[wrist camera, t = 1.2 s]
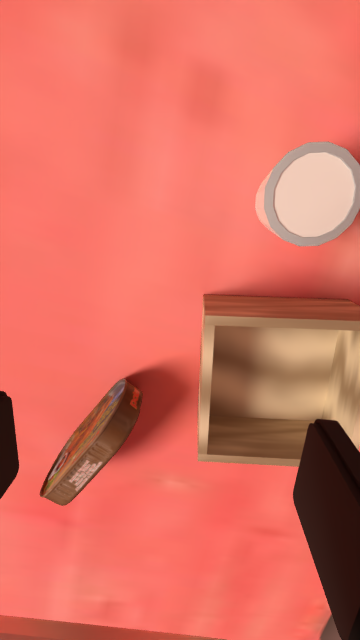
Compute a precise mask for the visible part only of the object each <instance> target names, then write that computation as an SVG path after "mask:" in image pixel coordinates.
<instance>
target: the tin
mask: <svg viewBox="0 0 360 640" xmlns="http://www.w3.org/2000/svg"><path fill="white" fill-rule="evenodd" d="M142 395H143V393H142V392H141V391H140V390H139V389H138V388H136V387H135V386H133V385H132V384H130V383H129V382H127V380H126V379H121V380H119V381H118V382H117V383H116V384H115V385H114V386H113V387H112V388H111V389H110V390H109V391H108V393H107V394H106V395H105V396H104V397H103V399H102V400H101V401H100V402H99V403H98V404H97V406H96V407H95V408H94V409H93V410H92V412H91V413H90V414H89V415H88V416H87V418H86V419H85V420H84V421H83V422H82V423H81V425H80V426H79V427H78V428H77V429H76V431H75V432H74V433H73V434H72V436H71V437H70V439H69V440H68V441H67V443H66V444H65V446H64V447H63V449H62V450H61V452H60V453H59V455H58V457H57V458H56V460H55V462H54V464H53V465H52V467H51V469H50V471H49V473H48V475H47V477H46V479H45V481H44V483H43V485H42V488H41V491H40V496H41V497H45V498H47V499H49V500H51V501H52V502H54V503H56V504H59V505H62V506H63V505H67V504H68V503H70V502H71V501H72V500H73V499H74V498H75V497H76V496H77V495H78V494H79V493H80V492H81V491H82V490H83V489H84V488H85V486H86V485H87V484H88V483H89V482H90V481H91V480H92V479H93V478H94V477H95V476H96V475H97V473H98V472H99V471H100V470H101V469H102V468H103V467H104V466H105V465H106V464H107V462H108V461H109V460H110V459H111V458H112V457H113V456H114V455H115V454H116V452H117V451H118V450H119V449H120V447H121V446H122V445H123V443H124V442H125V440H126V439H127V437H128V436H129V434H130V432H131V431H132V429H133V427H134V425H135V423H136V421H137V418H138V416H139V412H140V406H141V402H142Z"/></svg>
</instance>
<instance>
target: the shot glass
mask: <svg viewBox="0 0 360 640" xmlns="http://www.w3.org/2000/svg"><path fill="white" fill-rule="evenodd" d="M255 209H256V212H257V215H258V217H259V220H260V221H261V222H262V223H263V224H264V226H265V227H266V228H267V229H269V230H270V231H271V232H273V233H274V234H276V235H277V236H278V237H280V238H281V239H283V240H285V241H288V242H290V243H293V244H295V245H298V246H319V245H321V244H323V243H326V242H328V241H330V240H333V239H335V238H337V237H338V236H339V235H340V234H341V233H342V232H343V231H344V230H346V229H347V228H348V227H349V226H350V225H351V224H352V222H353V221H354V219H355V217H356V215H357V213H358V211H359V209H360V165H359V163H358V162H357V161H356V160H355V159H354V157H353V156H352V155H351V154H350V153H349V151H348V150H347V149H345V148H342V147H340V146H338V145H335V144H333V143H331V142H310V143H306V144H304V145H302V146H300V147H298V148H296V149H294V150H292V151H290V152H288V153H287V154H286V155H285V156H284V157H283V158H282V159H281V161H280V162H279V163H278V164H277V165H276V166H275V167H274V168H273V169H272V170H271V172H270V173H269V174H268V176H267V177H266V178H265V179H264V181H263V182H262V183H261V185H260V187H259V190H258V192H257V194H256V205H255Z"/></svg>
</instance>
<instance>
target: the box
mask: <svg viewBox="0 0 360 640" xmlns="http://www.w3.org/2000/svg"><path fill="white" fill-rule="evenodd" d="M316 419H326V420H336V421H338V422H339V423H340V425H341V426H342V428H343V429H344V431H345V432H346V434H347V435H348V436H349V438H350V439H351V441H352V442H353V444H354V445H355V446H356V448H357V449H358V450H359V445H360V306H359V305H357V304H355V303H353V302H352V301H350V300H346V299H316V298H287V297H258V296H228V295H203V312H202V333H201V354H200V375H199V396H198V461H206V462H224V463H242V464H260V465H279V466H297V467H299V464H300V460H301V456H302V451H303V447H304V443H305V438H306V434H307V429H308V426H309V424H310V423H314V422H315V420H316Z"/></svg>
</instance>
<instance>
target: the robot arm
mask: <svg viewBox="0 0 360 640" xmlns="http://www.w3.org/2000/svg"><path fill="white" fill-rule="evenodd" d="M18 470H19V460H18V451H17V443H16V434H15V425H14V416H13V408H12V400H11V398H10V397H8V396H7V394H6V393H5V392H4V391H0V499H1V497H2V496H3V495H4V493H5V492H6V490H7V489H8V487H9V486H10V485H11V483H12V482H13V480H14V479H15V477H16V475H17V473H18ZM293 499H294V504H295V507H296V510H297V513H298V516H299V519H300V522H301V525H302V528H303V531H304V534H305V536H306V539H307V542H308V545H309V548H310V551H311V554H312V557H313V560H314V563H315V566H316V569H317V572H318V574H319V577H320V580H321V583H322V586H323V589H324V592H325V595H326V598H327V601H328V604H329V607H330V610H331V613H332V615H333V618H334V621H335V624H336V627H337V630H338V633H339V635H340V637H341V639H342V640H360V452H359V451H358V449H357V448H356V446H355V445H354V444H353V442H352V441H351V439H350V438H349V436H348V435H347V434H346V432H345V431H344V429H343V428H342V426H341V425H340V423H339V422H338V421H336V420H326V419H316V420H315V422H314V423H310V424H309V426H308V429H307V434H306V438H305V443H304V447H303V451H302V456H301V460H300V464H299V469H298V473H297V477H296V482H295V486H294V491H293ZM0 640H225V639H217V638H208V637H199V636H190V635H182V634H173V633H163V632H154V631H145V630H136V629H126V628H117V627H108V626H99V625H89V624H80V623H70V622H61V621H52V620H42V619H33V618H23V617H13V616H3V615H0Z"/></svg>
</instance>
